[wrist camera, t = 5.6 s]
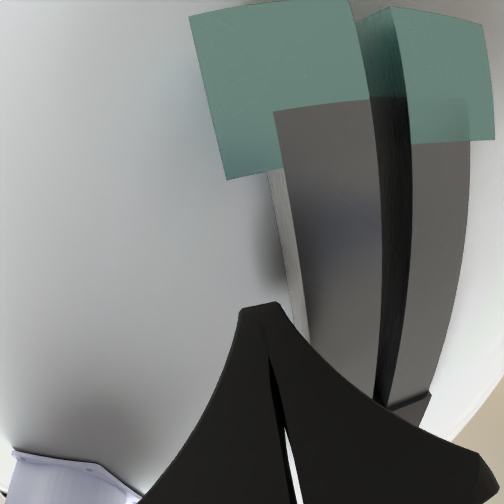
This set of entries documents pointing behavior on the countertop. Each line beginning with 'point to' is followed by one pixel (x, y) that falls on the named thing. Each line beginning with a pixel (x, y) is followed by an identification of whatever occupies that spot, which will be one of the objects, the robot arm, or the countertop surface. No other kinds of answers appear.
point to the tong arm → (305, 160)
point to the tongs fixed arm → (421, 183)
